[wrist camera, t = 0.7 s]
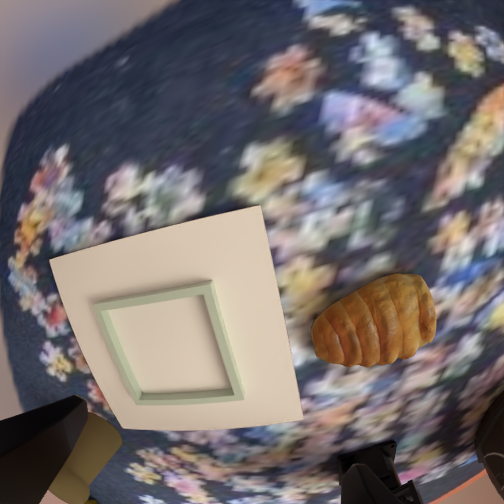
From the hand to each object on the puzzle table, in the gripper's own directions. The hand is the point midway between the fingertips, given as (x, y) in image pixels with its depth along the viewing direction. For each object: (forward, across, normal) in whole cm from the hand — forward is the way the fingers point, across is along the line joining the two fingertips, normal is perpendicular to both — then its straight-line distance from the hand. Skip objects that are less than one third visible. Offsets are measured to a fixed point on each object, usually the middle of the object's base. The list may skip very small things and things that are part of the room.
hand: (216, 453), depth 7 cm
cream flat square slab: (+14, +5, +5) cm, 16 cm away
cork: (+14, +13, +21) cm, 29 cm away
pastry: (+14, -10, -1) cm, 18 cm away
